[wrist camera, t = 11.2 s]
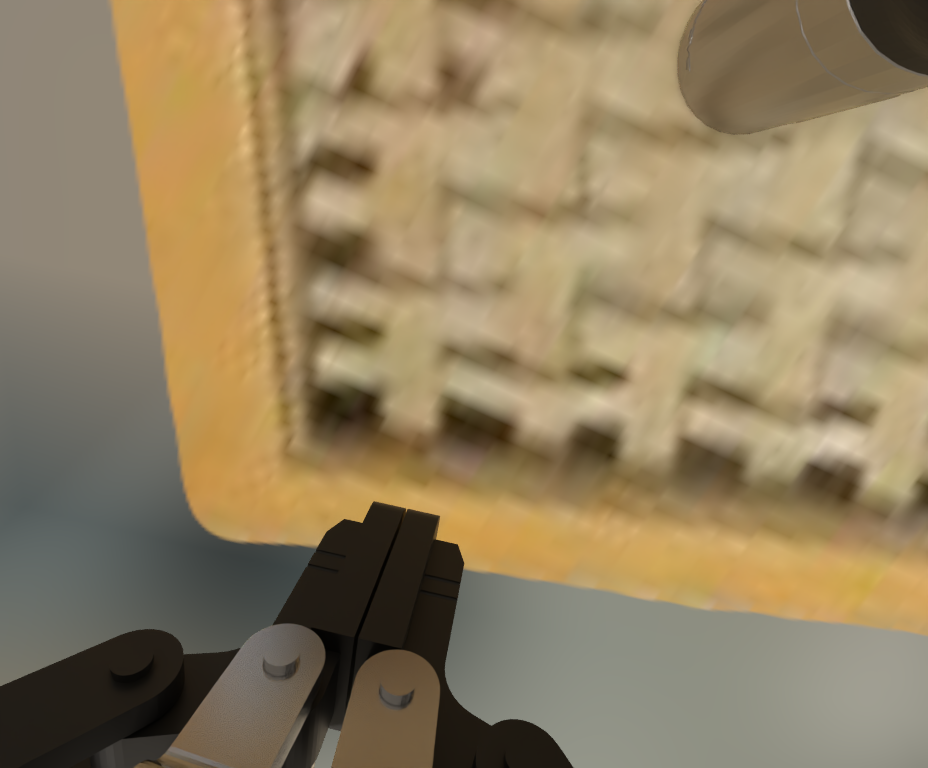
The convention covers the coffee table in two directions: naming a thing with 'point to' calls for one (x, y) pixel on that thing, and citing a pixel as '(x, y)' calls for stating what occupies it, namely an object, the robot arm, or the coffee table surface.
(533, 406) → the coffee table surface
